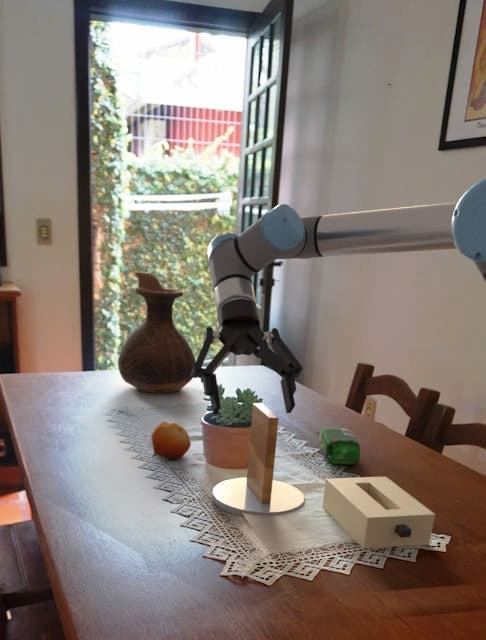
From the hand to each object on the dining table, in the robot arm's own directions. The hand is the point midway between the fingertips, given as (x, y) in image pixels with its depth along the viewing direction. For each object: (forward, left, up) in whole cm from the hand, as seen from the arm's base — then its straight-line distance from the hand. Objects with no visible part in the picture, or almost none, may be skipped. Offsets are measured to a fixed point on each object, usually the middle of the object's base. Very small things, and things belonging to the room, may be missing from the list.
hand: (254, 410), depth 120 cm
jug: (+4, -76, -15) cm, 77 cm away
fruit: (+11, -18, -15) cm, 26 cm away
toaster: (-15, +20, -14) cm, 29 cm away
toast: (0, +6, -13) cm, 15 cm away
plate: (0, +6, -14) cm, 16 cm away
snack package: (-24, -15, -15) cm, 32 cm away
